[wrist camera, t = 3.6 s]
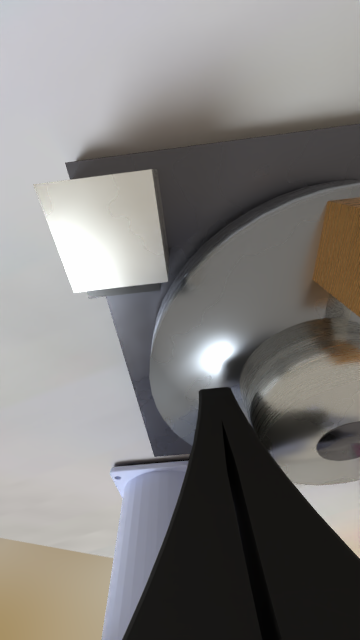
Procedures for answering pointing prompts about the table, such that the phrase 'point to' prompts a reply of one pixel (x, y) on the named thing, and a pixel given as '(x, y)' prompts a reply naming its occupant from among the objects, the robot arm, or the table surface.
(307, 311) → the turntable
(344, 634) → the robot arm
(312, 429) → the cover
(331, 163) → the base plate
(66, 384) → the table surface
